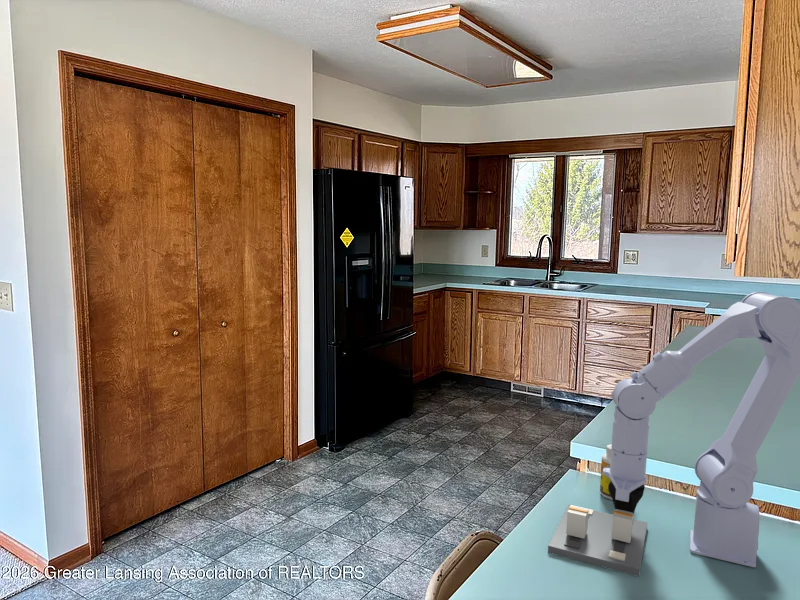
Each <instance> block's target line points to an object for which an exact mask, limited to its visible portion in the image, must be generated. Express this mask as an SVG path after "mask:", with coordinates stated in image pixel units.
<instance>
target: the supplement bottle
mask: <svg viewBox="0 0 800 600" xmlns="http://www.w3.org/2000/svg"><path fill="white" fill-rule="evenodd" d="M611 448H612V443H610V444H607V445H606V450H605V453H603V454H602V456H601V466H600V481H599V482H600V485H599V493H600V495H601V496H602V497H604V498H606V499H609V500H612V497H611V495H610V493H609V490H608V485H609V483H610V481H611V479H610V477H609V476H606V475H603V469H604V468H610V463H611ZM612 501H613V500H612Z"/></svg>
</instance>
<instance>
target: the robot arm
mask: <svg viewBox="0 0 800 600" xmlns="http://www.w3.org/2000/svg"><path fill="white" fill-rule="evenodd" d="M749 338H753V339H754V338H757V339H758V342H759V344H760V345H761V347H762V349H763V352H764V353H765V355H764V357H763V359H762V361H761V363H760V365H759V366H758V368H757V369H756V373H755V374H754V376H753V378H752V379H751V381H750V384H749V385H748V387H747V389H746V392H745V393H744V395H743V397H742V399H741V400H740V403H739V405H738V407H737V409H736V410H735V412H734V414H733V416H732V417H731V419H730V422H729V424H728V426H727V428H726V429H725V431H724V433H723V435H722V437H720V438H718V439H716V440H714V441H713V442H712V443H711V444H710V446H709V448H708V449H707V450H706V451H704V452H703V453H702V454H700V455H699V456H698V457H697V458H696V460H695V463H694V473H695V475H696V477H697V478H698V479H699V481H700V483H699V486H698V488H697V490H696V498H695V499H696V500H695V511H694V519H693V520H694V523H693V529H690V531H689V532H690V533H689V552H690V553H692V554H696V555H700V556H703V557H707V558H713V559H717V560H721V561H725V562H730V563H734V564H738V565H741V566H747V567H749V568H756V567H757V554H758V549H759V533H760V521H761V520H760V518H761V517H760V507H759V505H757V504H754V503H750V500H751V499H752V497H753V495H754V481H755V478H756V476H757V474H758V463H757V454H758V453H759V450H760V448H761V447H762V444H763V443H764V440H765V439H766V437H767V435H768V433H769V431H770V430H771V427H772V426H773V424H774V422H775V421H776V419H777V417H778V415H779V413H780V411H781V409H782V407H783V406H784V404H785V401H786V400H787V398H788V396H789V394H790V393H791V390H792V388H793V387H794V385H795V383H796V382H797V380H798V377H799V376H800V303H799V302H798V301H797V300H796V299H793V298H791V297H789V296H781V295H780V296H779V295H774V294H770V293H768V292H765V291H755V292H751V293H749V294H747V295H745V296H744V297H743V298H742V300H741V301H736V302H735V303H733V304H732V305H730V306H729V308H727V310H725V311H724V312H723V313H722V314H721V315H720V316H719V317H718V318H717V319H715V320H714V321H713V322H711V323H710V324H709V325H708V326H707V327H706V328H704V329H703V330H702V331H701V332H700V333H698V334H697V335H696V336H694V337H693V338H692V339H691V340H690V341H688V342H687V343H686V344H684V346H682V347H681V348H680V349H679V350H674V351H673V350H665V351H664V352H662V353H660V352H659V351H657V352H656V353H655V354H653V355H652V358H653V360H651V361H650V362H649V363H648V364H646V365H645V366H643V368H641V369H639V370H638V371H637V372H636V371H633V372H631V373H630V374H629V376H630V377H629V378H623V379H621V380H619V382H618V383H616V384H615V386H614V389H613V390H612V391H611V399H612V401H613V403H614V404H615V405H616V406H615V407H614V408H615V409H614V415H613V416H614V418H613V422H612V434H611V435H612V436H611V444H612V448H611V463H610V468H604V469H603V475H606V476H609V477H610V479H611V481H610V483H609V485H608V490H609V493H610V495H611V497H612V502H613V507H614V510H615V509H619V510H623V511H628V512H632V513H633V516H634V514H635V510H636V508H637V505H638V504H639V502H640V500H641V499H642V498H643V496H644V493H645V486H646V485H645V484H646V483H647V475H646V472H647V460H648V459H647V457H648V444H649V433H650V432H649V431H650V426H649V421H650V419H649V418H650V416H651V415H652V414H653V413H654V411H655V410H656V406H657V405H656V404H657V402H659V401H661V400H662V399H664V398H665V397H667V396H668V395H669V394H671V393H672V392H674V390H676V389H677V388H679V387H680V386H681V385H684V383H685V382H688V380H689V379H692V378H691V377H692V374H693V368H694V367H695V366H696V365H697V364H699V363H701V362H702V361H703V360H706V359H707V358H708V357H710V356H711V355H712V354H713V355H714V353H716V352H717V351H719V350H720V349H721V348H724V347H725V346H726V345H728V344H730V343H731V342H732V341H735V340H736V339H749Z"/></svg>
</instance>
